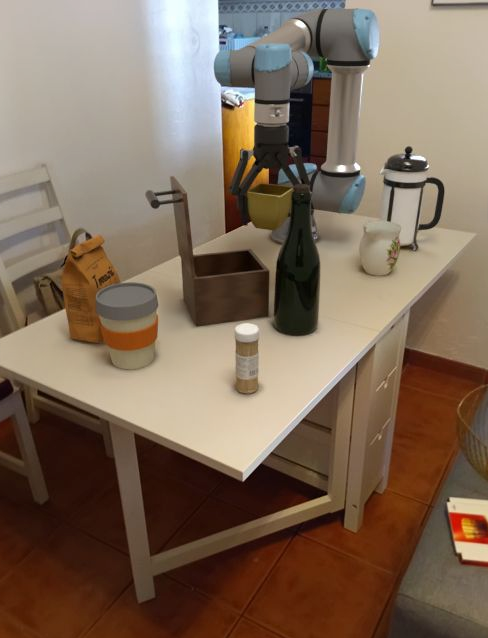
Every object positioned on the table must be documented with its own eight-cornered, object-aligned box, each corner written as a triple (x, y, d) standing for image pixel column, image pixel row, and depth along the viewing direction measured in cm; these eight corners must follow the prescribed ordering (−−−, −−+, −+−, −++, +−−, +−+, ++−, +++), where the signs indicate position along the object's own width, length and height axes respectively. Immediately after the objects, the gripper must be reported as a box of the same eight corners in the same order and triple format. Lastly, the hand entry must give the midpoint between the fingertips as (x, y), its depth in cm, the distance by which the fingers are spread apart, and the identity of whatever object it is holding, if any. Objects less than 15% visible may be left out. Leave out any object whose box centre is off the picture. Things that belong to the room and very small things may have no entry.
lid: (173, 176, 136) (141, 180, 134) (186, 192, 123) (151, 197, 121) (182, 253, 145) (152, 258, 144) (195, 276, 133) (163, 282, 131)
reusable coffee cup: (167, 368, 123) (162, 303, 115) (105, 378, 120) (96, 311, 112) (157, 340, 133) (152, 278, 126) (101, 348, 130) (92, 285, 123)
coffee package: (133, 325, 139) (123, 235, 128) (99, 349, 130) (85, 254, 119) (99, 317, 143) (87, 229, 132) (64, 339, 134) (47, 246, 123)
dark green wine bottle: (290, 340, 133) (296, 194, 116) (264, 322, 141) (267, 183, 124) (326, 329, 138) (337, 187, 121) (300, 312, 145) (306, 176, 129)
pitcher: (409, 265, 172) (416, 219, 165) (382, 285, 160) (388, 236, 153) (375, 256, 178) (380, 212, 171) (346, 275, 166) (350, 227, 159)
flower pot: (293, 224, 141) (294, 186, 137) (280, 235, 134) (281, 196, 130) (259, 219, 144) (260, 182, 140) (244, 230, 138) (244, 191, 133)
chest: (250, 292, 156) (250, 248, 150) (268, 316, 143) (269, 270, 137) (183, 300, 151) (180, 256, 145) (196, 326, 139) (193, 279, 133)
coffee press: (404, 257, 177) (419, 154, 162) (362, 243, 188) (372, 145, 173) (437, 244, 187) (453, 146, 172) (395, 232, 198) (408, 138, 183)
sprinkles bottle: (252, 380, 119) (252, 320, 112) (262, 391, 115) (263, 330, 109) (231, 385, 117) (230, 325, 111) (241, 397, 114) (241, 335, 107)
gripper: (222, 129, 122) (224, 231, 132) (329, 123, 128) (323, 221, 139) (213, 123, 128) (215, 221, 139) (315, 118, 134) (310, 212, 145)
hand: (269, 221), depth 139 cm, fingers closed on flower pot, 12 cm apart
